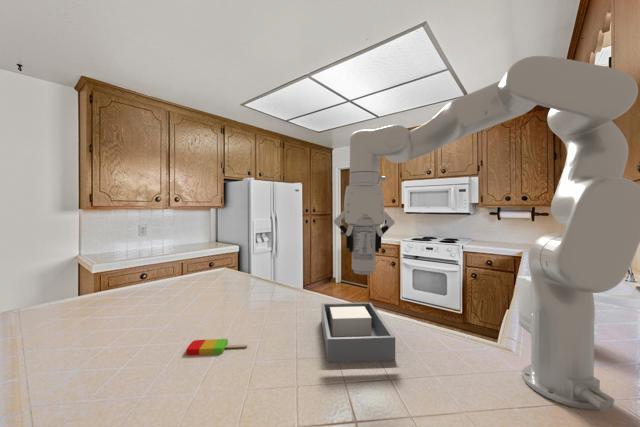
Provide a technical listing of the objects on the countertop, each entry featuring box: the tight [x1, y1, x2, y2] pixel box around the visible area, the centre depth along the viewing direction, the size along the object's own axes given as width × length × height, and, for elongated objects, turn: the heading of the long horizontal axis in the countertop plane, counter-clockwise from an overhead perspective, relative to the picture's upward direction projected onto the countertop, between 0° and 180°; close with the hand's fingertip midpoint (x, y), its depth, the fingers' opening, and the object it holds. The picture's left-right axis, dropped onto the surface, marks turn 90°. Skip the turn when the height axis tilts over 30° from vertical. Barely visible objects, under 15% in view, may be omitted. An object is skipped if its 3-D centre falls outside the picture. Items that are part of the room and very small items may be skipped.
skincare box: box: [516, 275, 532, 333], centre depth 82 cm, size 8×7×16 cm
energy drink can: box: [351, 214, 377, 276], centre depth 69 cm, size 6×6×15 cm
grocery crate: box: [321, 302, 396, 364], centre depth 75 cm, size 24×16×6 cm, turn 3°
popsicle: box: [185, 338, 248, 356], centre depth 71 cm, size 6×15×2 cm, turn 95°
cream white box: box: [330, 306, 371, 336], centre depth 81 cm, size 9×11×5 cm
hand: (363, 250), depth 69 cm, fingers closed on energy drink can, 6 cm apart
